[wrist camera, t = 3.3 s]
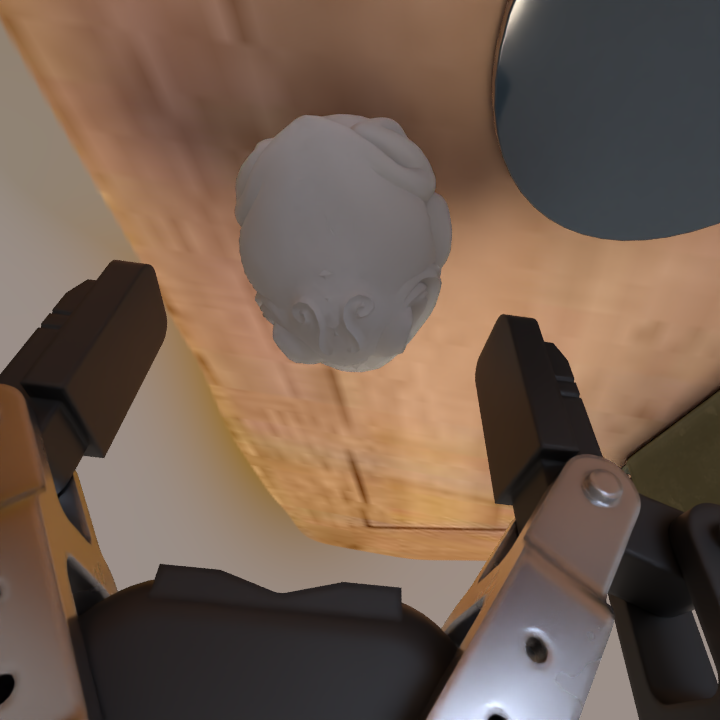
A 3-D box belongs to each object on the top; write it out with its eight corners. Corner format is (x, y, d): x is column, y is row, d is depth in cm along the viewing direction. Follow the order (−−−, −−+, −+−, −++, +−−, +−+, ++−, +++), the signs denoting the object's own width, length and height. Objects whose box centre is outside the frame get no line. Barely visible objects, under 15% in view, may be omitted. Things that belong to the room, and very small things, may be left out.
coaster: (628, -404, 7) (641, -421, 7) (1208, -260, 8) (1251, -267, 8) (445, 206, 15) (446, 215, 15) (741, 253, 16) (750, 262, 16)
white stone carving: (296, 275, 18) (260, 416, 13) (225, 83, 13) (128, 200, 8) (448, 255, 17) (467, 402, 12) (434, 36, 12) (457, 141, 7)
